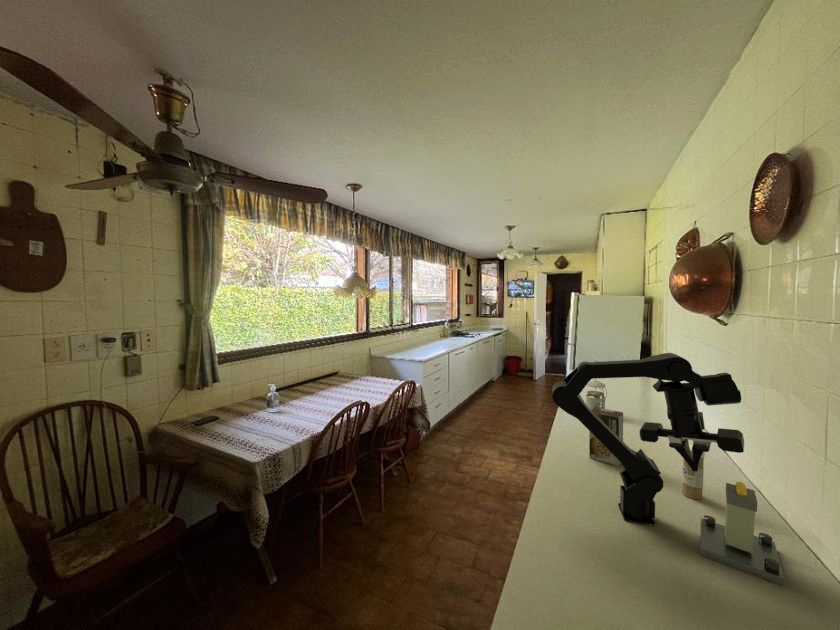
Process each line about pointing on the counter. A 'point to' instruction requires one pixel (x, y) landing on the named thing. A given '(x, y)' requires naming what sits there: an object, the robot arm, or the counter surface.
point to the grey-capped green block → (740, 516)
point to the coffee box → (616, 425)
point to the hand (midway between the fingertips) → (695, 470)
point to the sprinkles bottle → (693, 479)
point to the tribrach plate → (741, 552)
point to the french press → (595, 395)
